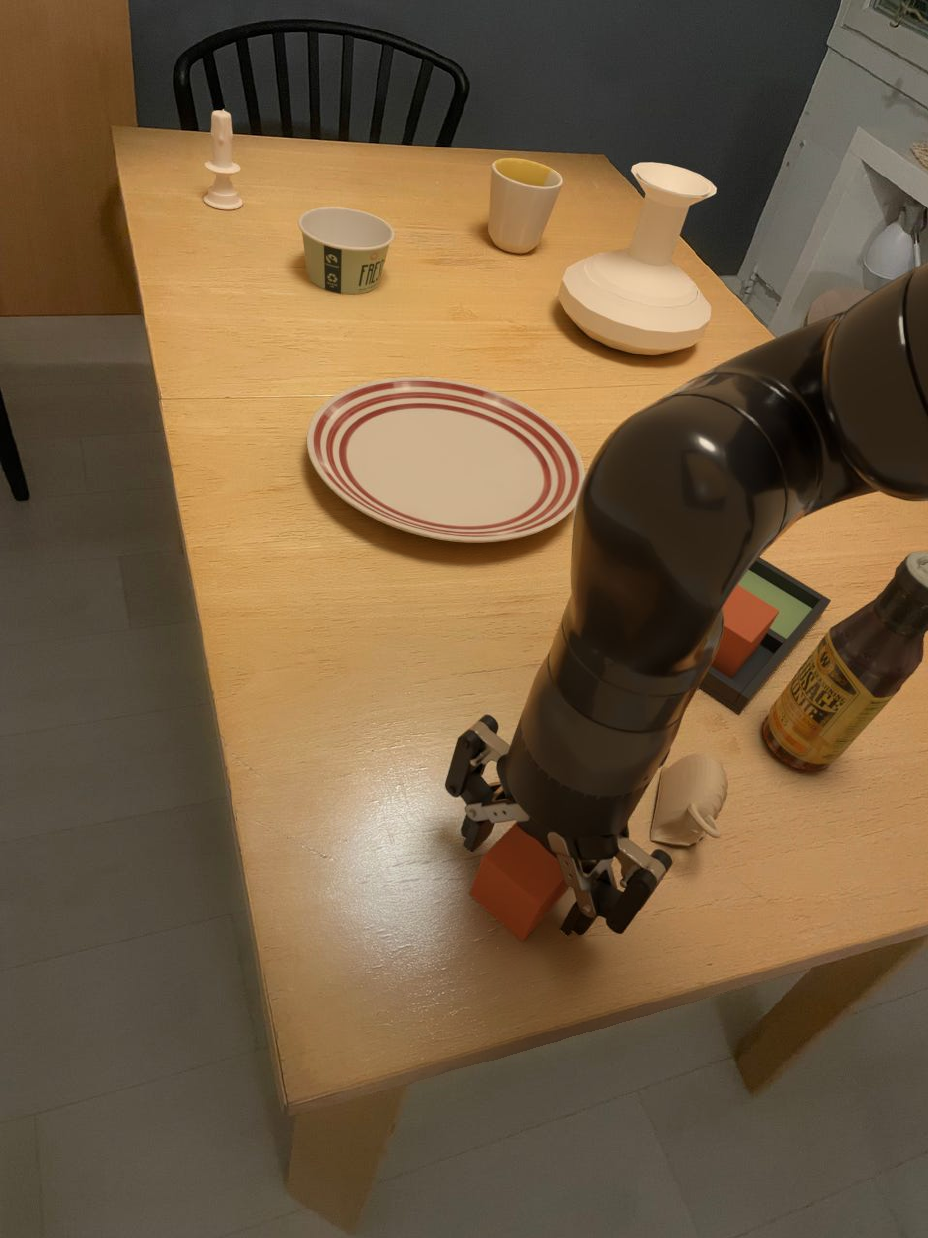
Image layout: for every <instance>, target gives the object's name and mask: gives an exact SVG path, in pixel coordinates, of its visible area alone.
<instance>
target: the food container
mask: <svg viewBox="0 0 928 1238" xmlns="http://www.w3.org/2000/svg"><path fill="white" fill-rule="evenodd" d="M297 226H298V228H299V230H300V231H301V235H302V244H303V252H304V259H305V266H306V274H307V277H308V279H309V280H310V281H311V282H312V283H313V284H314V285H316V286H317V287H319V288H321V289H324V290H326V291H329V292H332V293H336V294H342V295H361V294H366V293H369V292H372V291H374V290H375V289H376V288H377V287H378V285H379V284H380V279H381V275H382V272H383V269H384V266H385V261H386V258H387V255H388V251H389V248H390V245H391V244H392V243H393V242H394V240H395V237H396V233H395V230H394V228H393V226H392V225H390V223H388V221H385V220H384V219H382V218H381V217H379V216H377V215H375V214H372V213H370V212H367V211H363V210H361V209H357V208H356V209H355V208H351V207H343V206H321V207H315V208H312V209H308V210H306V211H304V212H303V213H301V214H300V216H299V217H298V220H297Z"/></svg>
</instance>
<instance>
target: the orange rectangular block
mask: <svg viewBox="0 0 928 1238" xmlns="http://www.w3.org/2000/svg"><path fill="white" fill-rule="evenodd" d="M723 610H724V618H725V622H724V632H723V637H722V640H721V643H720V646H719V649H718V651H717V654H716V656H715V658H714V660H713V662H712V664H711V666H712V667H714V668H715V669H717V670H718V671H720V672H721V673H723V674H724V675H726V676H727V677H728V678H730V679H731V678H732V677H733V676H734V675H735V673H736V672H737V671H738V670H739V669H740V668H741V667H742V666H743V664H744V663H745V662H746V661H747V660H748V659H749V658H750V656H751V655H752V654H753V653H754V652H755V651H756V649H757V648H758V646H759V644H760V643H761V641H762V640H763V638H764V636H765V635H766V633H767V631H768V630H769V628H770V626H771V625H772V623H773V622H774V620H775V618H776V617H777V615H778V613H779V610H777V609H776V608H774V607H772V606H771V605H769V604H768V603H766V602H764V601H763V600H761V599H760V598H758V597H756V596H755V595H753V594H752V593H750V592H748V591H747V590H745V589H744V588H742V587H740V586H739V585H737V586H736V587H735V589H734V590H733V592H732V593H731V595H730V596H729V598H728V599H727V601H726V603H725V604H724V606H723Z"/></svg>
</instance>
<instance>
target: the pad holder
mask: <svg viewBox="0 0 928 1238" xmlns="http://www.w3.org/2000/svg"><path fill="white" fill-rule="evenodd" d="M737 585H739V586H740V587H742V588H744V589H745V590H747V591H748V592H750V593H752V594H753V595H755V596H756V597H758V598H760V599H761V600H763V601H764V602H766V603H768V604H769V605H771V606H772V607H774V608H776V609H777V610H779V613H778V615H777V617H776V618H775V620H774V622H773V623H772V625H771V626H770V628H769V630H768V631H767V633H766V635H765V636H764V638H763V640H762V641H761V643H760V644H759V646H758V648H757V649H756V651H755V652H754V653H753V654H752V655H751V656H750V658H749V659H748V660H747V661H746V662H745V663H744V664H743V666H742V667H741V668H740V669H739V670H738V671H737V672H736V673H735V675H734V676H733V677H732V678H731V679H730V678H728V677H727V676H726V675H724V674H723V673H721V672H720V671H718V670H717V669H715V668H714V667H712V666H710V668H709V670H708V672H707V674H706V676H705V677H704V679H703V681H702V683H701V684H700V686H699V688H698V689H700V690H702V691H704V692H705V693H706V694H708V695H709V696H711V697H712V698H714V699H715V700H716V701H718V702H720V703H721V704H722V705H724V706H725V707H727V708H728V709H730V710H731V711H733V712H734V713H736V714H737V715H740V714H741V713H742V712H743V711H744V710H745V708H746V707H747V706H748V705H749V704H750V702H752V700H753V699H754V697H755V696H756V695H757V694H758V693H759V692H760V690H761V689H762V688H763V687H764V685H765V684H766V683H767V682H768V681H769V679H771V678H772V676H773V674H775V672H776V671H777V670H778V668H779V667H780V666H781V665H782V664H783V663H784V661H785V660H786V659H787V658H788V656H789V655H790V654H791V653H792V651H793V650H794V649H795V648H796V647H797V645H799V643H800V642H801V641H802V640H803V638H804V637H805V636H806V635H807V633H809V631H810V630H811V629H812V628H813V627H814V625H815V624H816V623H817V622H818V621H819V619H820V618H821V617H822V615H823V614H824V612H825V611H826V610H827V608H828V607H829V604H830V603H831V601H832V600H831V599H830V598H828V597H826V596H825V595H823V594H821V593H820V592H819V591H816V590H815V589H814V588H812V587H811V586H808V585H807V584H805V583H804V582H802V581H800V580H798V579H797V578H795V577H793V576H792V575H791V574H789V573H787V572H785V570H782V569H780V568H778V566H775V565H773V563H770V562H769V561H767V560H766V559H764V558H762V557H761V556H760V557H759V558H758V559H756V561H755V562H754V563H753V564H752V565H751V567H750V568H749V569H748V570H747V572H746V573H745V574H744V576H743V577H742V579H741V580H740V581H739V583H738V584H737Z"/></svg>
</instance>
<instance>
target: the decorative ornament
mask: <svg viewBox="0 0 928 1238" xmlns="http://www.w3.org/2000/svg"><path fill="white" fill-rule="evenodd" d="M660 774H661V775H660V780H659V787H658V794H657V800H656V805H655V806H656V807H655V811H654V816H653V819H652V825H651V830H650V841H651V842H656V843H660V844H661V843H662V844H668V845H674V846H683V847H689V846H692V845H695V844H697V843H699V841H700V839H701V838H704V837H705V836H706V834H707V835H708V836H710V837H711V838H713V839H720V838H721V837H722V833H723V832H722V830H721V827H720V825H719V824H718V822H717V819H718V818H719V815H720V814H721V811H722V810H723V807H724V804H725V803H726V800H727V797H728V789H729V788H728V787H729V782H728V778H727V772H726V770H725V768H724V764H723V763H722V762H721V761H719V760H718V759H716V757H714V756H713V755H711V754H708V753H704V752H699V753H691V754H687V755H685V756H683V757H681V758H679V759H678V760H676V761H675V762H674V763H672V764H671V765H663V766H662V769H661V773H660Z"/></svg>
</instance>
